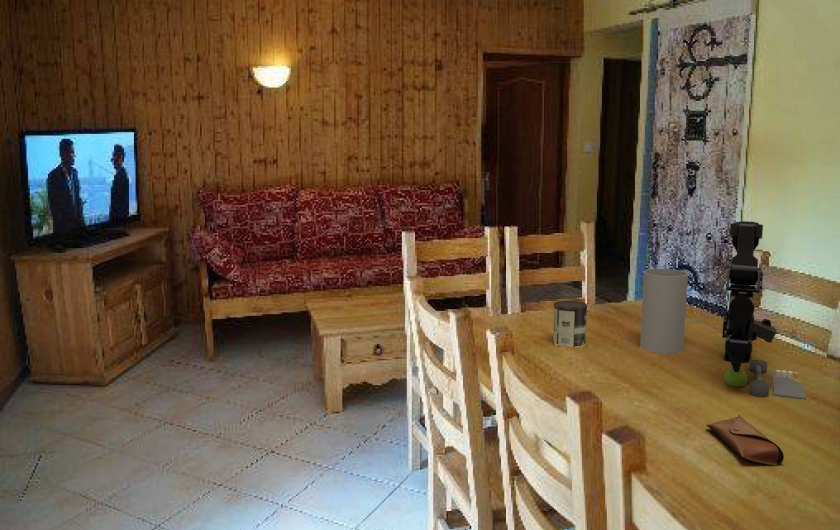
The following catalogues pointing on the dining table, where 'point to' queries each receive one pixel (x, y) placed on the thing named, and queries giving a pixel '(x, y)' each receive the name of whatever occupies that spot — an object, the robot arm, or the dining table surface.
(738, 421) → the sunglasses case
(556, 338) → the coffee can
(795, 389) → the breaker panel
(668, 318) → the cylinder vase
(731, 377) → the green bulbous piece
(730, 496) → the dining table surface
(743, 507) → the dining table surface
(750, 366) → the gray dumbbell
